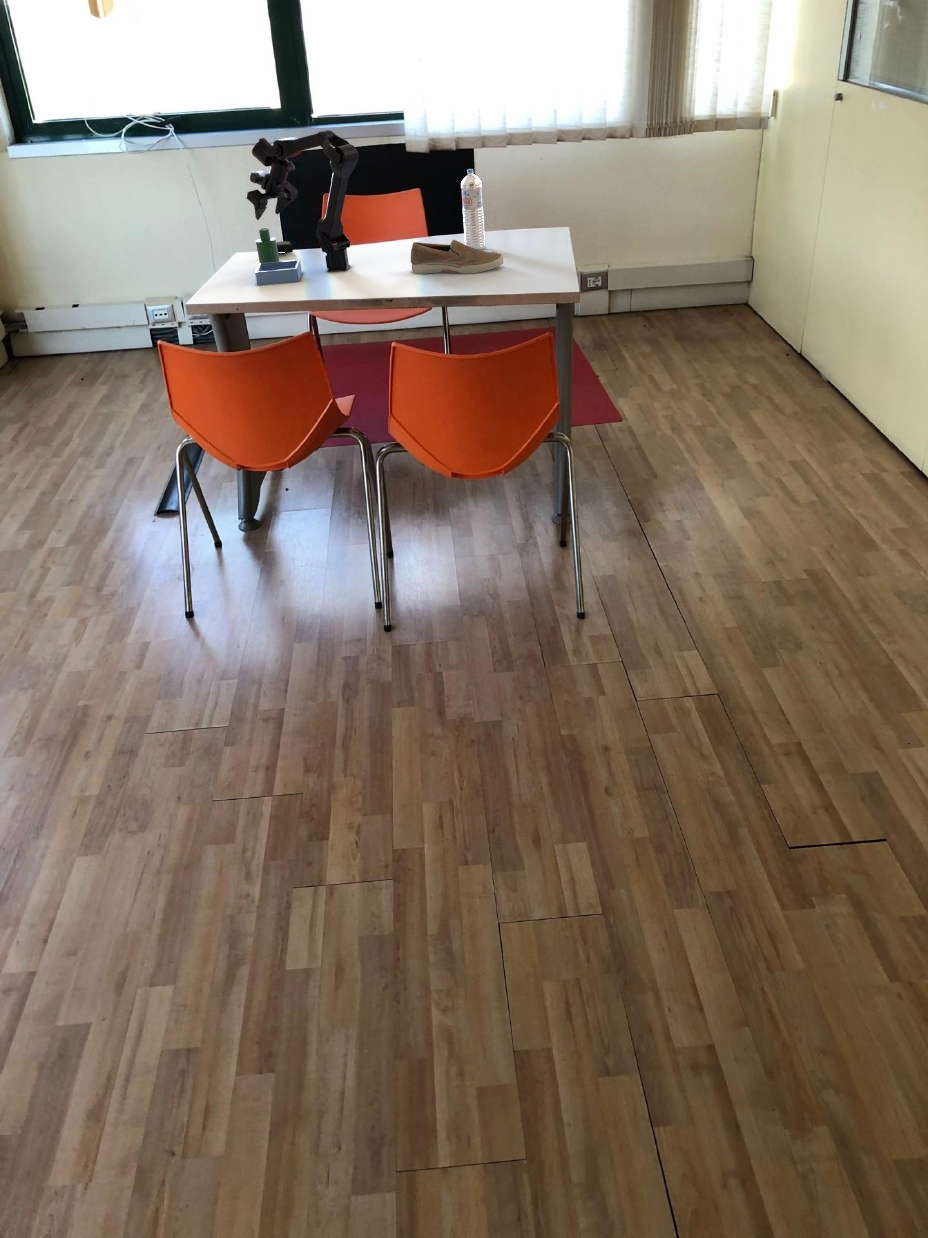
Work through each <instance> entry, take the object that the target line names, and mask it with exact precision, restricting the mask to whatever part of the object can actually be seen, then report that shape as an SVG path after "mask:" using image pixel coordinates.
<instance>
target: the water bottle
mask: <svg viewBox="0 0 928 1238" xmlns="http://www.w3.org/2000/svg"><path fill="white" fill-rule="evenodd" d="M466 171H467V175H465V177H464V178H463V179H462V181H461V183H460V189H461V199H462V200H461V201H462V217H463V218H462V221H463V234H464V235H463V237H464V244H465V245H467V246H469V247H472V248H476V249H479V250H482V251H483V250H484V249H485V248H486V238H485V222H484V207H483V194H482V187H483V186H482V180H480V178H479V177H478V176H477V175H475V174H474V169H473V168H468V169H467V170H466Z"/></svg>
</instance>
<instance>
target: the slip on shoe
mask: <svg viewBox="0 0 928 1238" xmlns="http://www.w3.org/2000/svg"><path fill="white" fill-rule="evenodd" d="M411 245H412V246H411V248H410V263H411V271H412V273H414V274H419V275H424V274H425V275H426V274H434V273H452V274H463V275H464V274H468V275H469V274H477V273H482V272H486V271H489V270H493V269H496V268H498V267H500V266H502V265H503V264H504V263H505V262H504V255H503V254H502V253H500V252H495V251H486V250H483V249H482V250H479V249H476V248H472V247H469V246H467V245H465V243H462V242H460V241H458V240H456V239H452V241H450V244H442V243H428V242H418V241H414V242H412V244H411Z"/></svg>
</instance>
